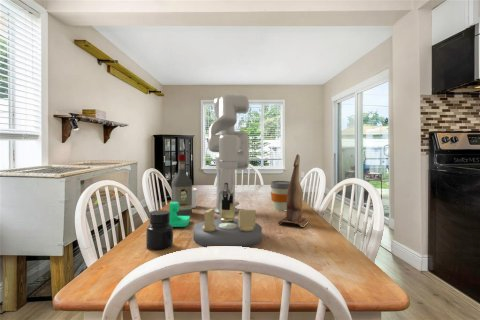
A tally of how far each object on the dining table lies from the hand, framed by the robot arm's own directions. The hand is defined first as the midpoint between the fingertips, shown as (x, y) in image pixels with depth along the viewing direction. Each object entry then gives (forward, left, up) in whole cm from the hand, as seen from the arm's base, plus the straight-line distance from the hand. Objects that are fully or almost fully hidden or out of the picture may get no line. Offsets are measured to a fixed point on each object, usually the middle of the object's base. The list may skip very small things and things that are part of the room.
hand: (227, 207), depth 121 cm
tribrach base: (+6, +5, -10) cm, 13 cm away
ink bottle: (+28, -8, -10) cm, 31 cm away
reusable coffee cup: (-50, -1, -10) cm, 51 cm away
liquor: (-9, -36, -10) cm, 39 cm away
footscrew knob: (0, 0, -6) cm, 6 cm away
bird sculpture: (-27, +17, -10) cm, 34 cm away
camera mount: (+5, -23, -11) cm, 25 cm away
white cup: (-23, -44, -10) cm, 51 cm away
